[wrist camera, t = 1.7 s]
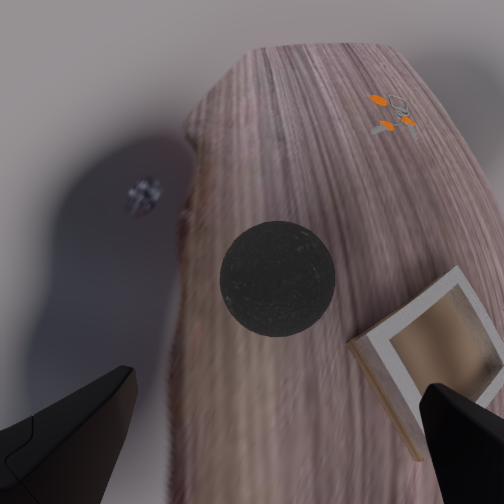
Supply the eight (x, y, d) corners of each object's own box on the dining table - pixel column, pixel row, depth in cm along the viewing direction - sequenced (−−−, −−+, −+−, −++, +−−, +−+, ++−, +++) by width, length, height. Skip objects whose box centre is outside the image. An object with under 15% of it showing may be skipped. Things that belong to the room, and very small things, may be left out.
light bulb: (249, 269, 23) (262, 178, 14) (315, 307, 22) (369, 234, 13) (207, 331, 21) (189, 269, 12) (277, 374, 20) (317, 344, 11)
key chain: (368, 87, 39) (369, 83, 38) (412, 105, 38) (414, 101, 38) (365, 134, 33) (367, 128, 32) (419, 155, 32) (422, 150, 32)
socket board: (414, 460, 16) (421, 461, 16) (346, 343, 21) (351, 340, 20) (494, 375, 20) (501, 373, 19) (438, 276, 24) (444, 272, 23)
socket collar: (422, 458, 16) (437, 460, 14) (354, 341, 20) (366, 333, 18) (499, 372, 19) (515, 367, 17) (444, 275, 23) (457, 264, 21)
